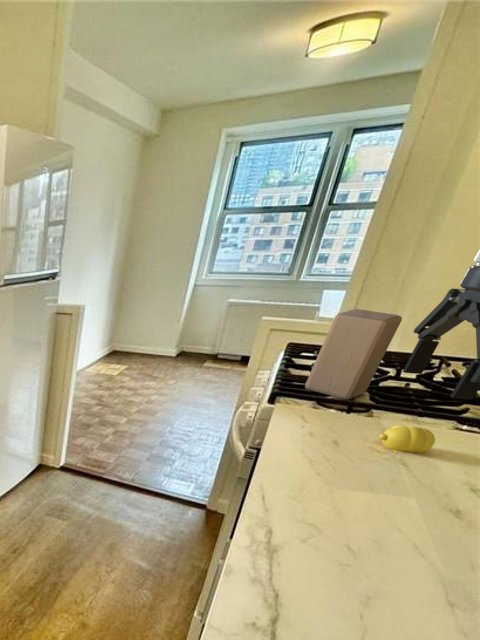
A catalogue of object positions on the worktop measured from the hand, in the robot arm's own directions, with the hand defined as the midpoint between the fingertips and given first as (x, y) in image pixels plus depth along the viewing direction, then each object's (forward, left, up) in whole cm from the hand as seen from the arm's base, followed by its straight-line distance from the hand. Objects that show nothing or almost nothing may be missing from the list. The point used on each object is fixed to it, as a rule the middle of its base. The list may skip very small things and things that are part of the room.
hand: (434, 384), depth 91 cm
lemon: (-1, 0, -14) cm, 14 cm away
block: (+8, -33, -14) cm, 37 cm away
